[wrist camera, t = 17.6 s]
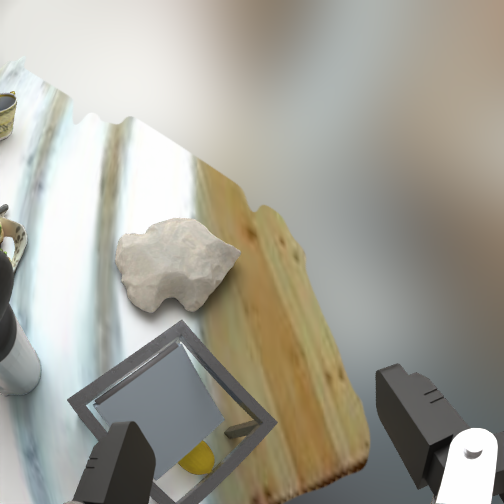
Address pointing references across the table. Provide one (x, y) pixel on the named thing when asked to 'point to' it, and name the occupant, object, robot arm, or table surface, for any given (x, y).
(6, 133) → the ceramic cup
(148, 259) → the rock
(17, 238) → the salad plate
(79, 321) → the table surface
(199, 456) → the lemon
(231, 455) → the trapdoor frame
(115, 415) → the trapdoor
